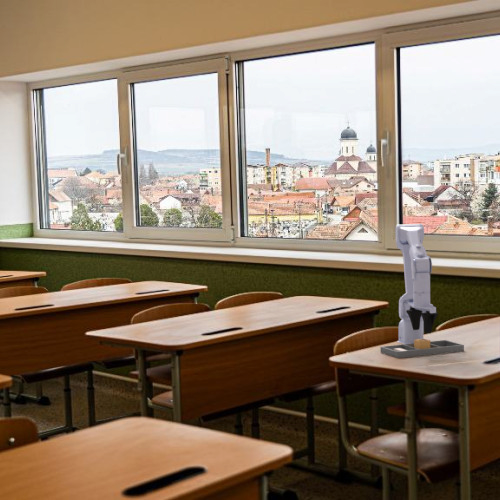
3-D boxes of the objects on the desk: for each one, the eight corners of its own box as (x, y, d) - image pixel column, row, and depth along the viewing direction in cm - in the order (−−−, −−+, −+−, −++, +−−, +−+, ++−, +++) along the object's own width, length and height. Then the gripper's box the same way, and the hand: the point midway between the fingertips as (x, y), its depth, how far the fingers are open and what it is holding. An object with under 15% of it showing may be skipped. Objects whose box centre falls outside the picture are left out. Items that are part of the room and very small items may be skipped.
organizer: (380, 353, 315) (380, 346, 315) (445, 346, 325) (445, 339, 325) (397, 359, 305) (397, 352, 305) (463, 351, 315) (463, 344, 314)
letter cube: (414, 351, 316) (413, 339, 316) (424, 350, 317) (423, 338, 317) (420, 353, 312) (420, 341, 312) (430, 351, 314) (430, 340, 313)
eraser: (393, 352, 313) (393, 348, 313) (399, 352, 314) (399, 348, 314) (401, 355, 309) (401, 351, 309) (407, 354, 310) (407, 350, 310)
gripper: (443, 293, 308) (443, 333, 309) (420, 289, 321) (420, 327, 322) (425, 295, 305) (426, 335, 306) (402, 290, 319) (403, 329, 320)
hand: (422, 331), depth 314 cm, fingers open, 7 cm apart
